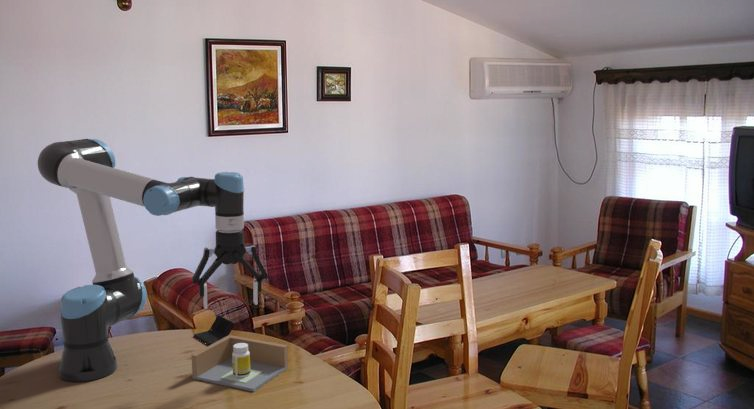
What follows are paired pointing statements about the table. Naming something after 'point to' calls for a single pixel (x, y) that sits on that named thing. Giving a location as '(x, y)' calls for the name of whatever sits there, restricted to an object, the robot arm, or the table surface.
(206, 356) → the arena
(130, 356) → the table surface
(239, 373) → the supplement bottle
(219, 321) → the handheld gaming console
